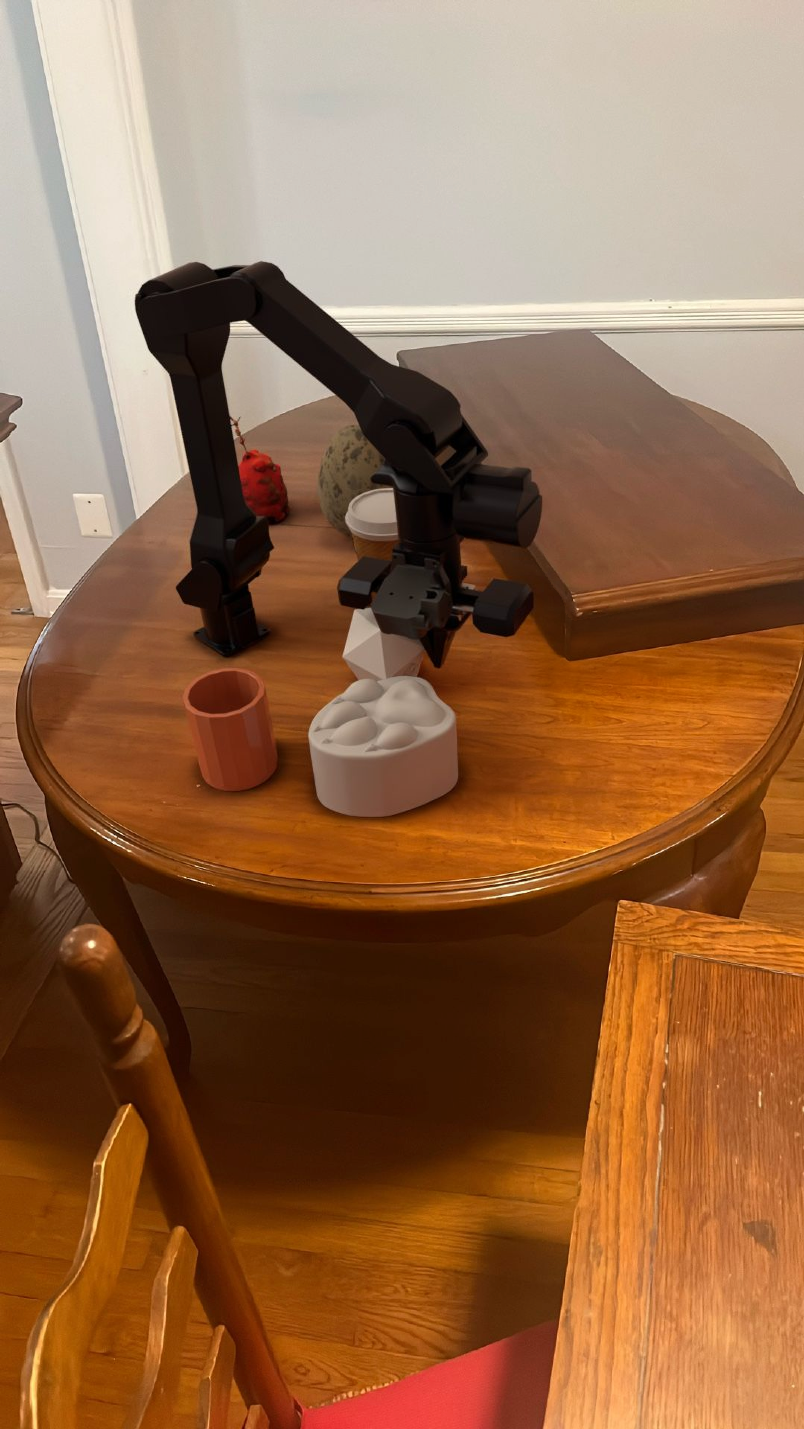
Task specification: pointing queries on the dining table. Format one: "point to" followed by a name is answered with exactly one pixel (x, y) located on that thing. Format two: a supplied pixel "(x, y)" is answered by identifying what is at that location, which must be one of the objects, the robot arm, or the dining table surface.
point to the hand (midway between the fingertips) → (439, 666)
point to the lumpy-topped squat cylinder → (383, 747)
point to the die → (379, 650)
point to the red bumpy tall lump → (262, 483)
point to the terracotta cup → (231, 728)
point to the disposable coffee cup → (373, 524)
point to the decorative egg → (346, 474)
